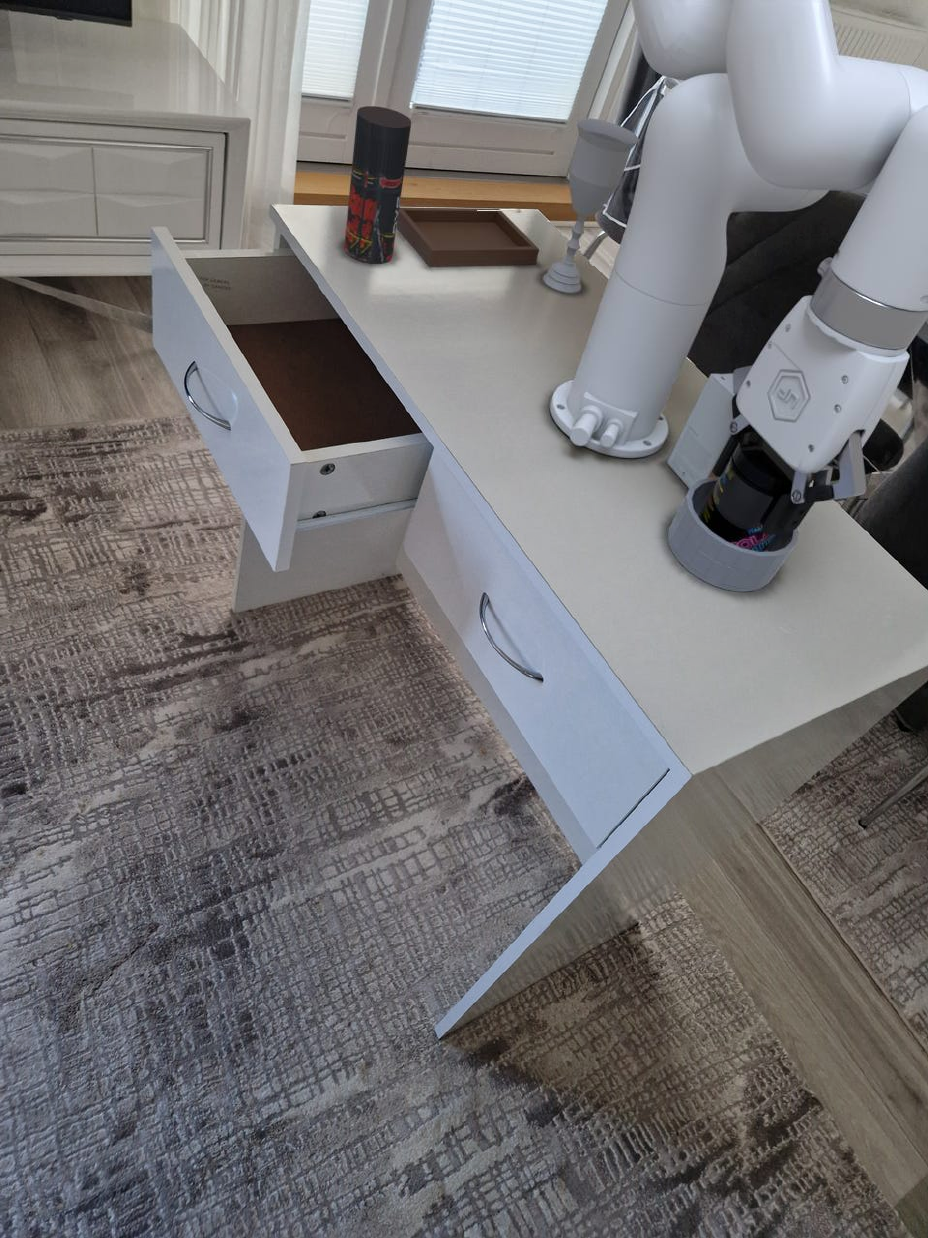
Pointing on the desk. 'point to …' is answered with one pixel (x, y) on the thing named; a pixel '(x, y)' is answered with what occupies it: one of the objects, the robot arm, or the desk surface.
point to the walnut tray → (465, 237)
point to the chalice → (591, 187)
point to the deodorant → (376, 183)
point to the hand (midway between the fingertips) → (751, 500)
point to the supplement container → (748, 493)
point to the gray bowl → (722, 548)
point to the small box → (705, 431)
